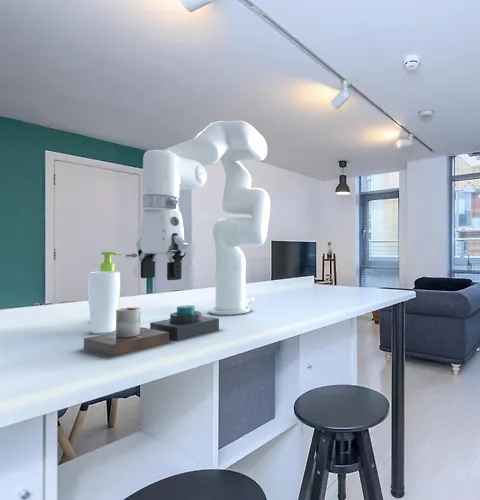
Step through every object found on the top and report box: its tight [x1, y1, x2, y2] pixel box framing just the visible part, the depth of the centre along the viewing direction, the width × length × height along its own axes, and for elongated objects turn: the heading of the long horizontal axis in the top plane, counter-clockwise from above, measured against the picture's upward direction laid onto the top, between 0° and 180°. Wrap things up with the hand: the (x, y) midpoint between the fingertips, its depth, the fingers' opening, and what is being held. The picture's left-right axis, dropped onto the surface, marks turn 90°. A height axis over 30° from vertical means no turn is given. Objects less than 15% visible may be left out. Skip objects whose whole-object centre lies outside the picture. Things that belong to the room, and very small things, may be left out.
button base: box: [149, 310, 220, 342], centre depth 87 cm, size 12×10×5 cm
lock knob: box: [115, 307, 141, 337], centre depth 74 cm, size 4×4×6 cm
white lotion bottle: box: [86, 271, 121, 335], centre depth 88 cm, size 7×7×15 cm
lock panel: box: [83, 326, 170, 358], centre depth 74 cm, size 12×10×3 cm
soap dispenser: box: [100, 251, 123, 309], centre depth 101 cm, size 6×7×20 cm
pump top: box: [176, 304, 196, 315], centre depth 87 cm, size 4×4×2 cm
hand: (160, 278), depth 81 cm, fingers open, 9 cm apart
